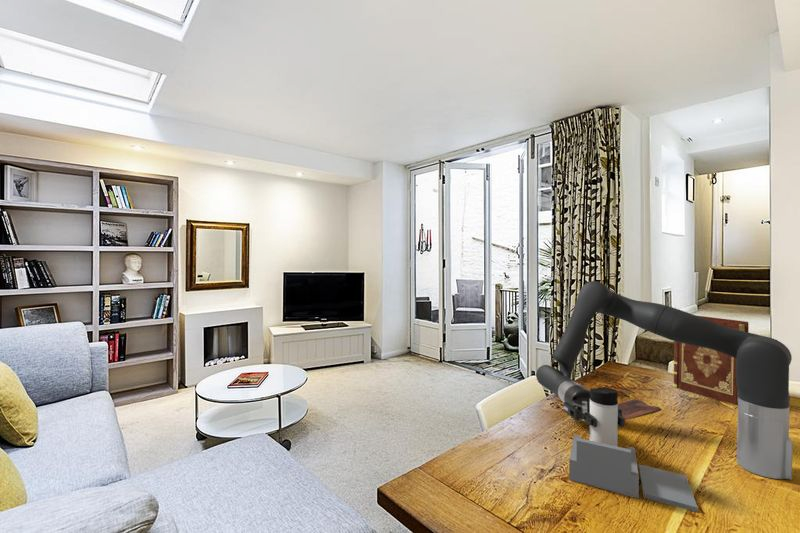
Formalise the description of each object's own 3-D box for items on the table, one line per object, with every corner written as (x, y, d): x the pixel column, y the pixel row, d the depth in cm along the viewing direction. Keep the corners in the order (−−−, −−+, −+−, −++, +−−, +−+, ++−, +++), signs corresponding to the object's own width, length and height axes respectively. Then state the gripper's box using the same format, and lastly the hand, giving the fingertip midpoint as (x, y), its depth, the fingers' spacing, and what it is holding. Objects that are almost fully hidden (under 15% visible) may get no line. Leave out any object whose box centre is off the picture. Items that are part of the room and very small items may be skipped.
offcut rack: (634, 467, 93) (634, 428, 93) (638, 498, 81) (639, 454, 80) (573, 452, 100) (574, 416, 99) (569, 479, 88) (569, 438, 87)
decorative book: (668, 385, 152) (669, 314, 151) (680, 383, 155) (681, 313, 154) (736, 405, 131) (738, 323, 131) (747, 401, 135) (749, 321, 134)
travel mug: (604, 474, 89) (604, 394, 88) (583, 460, 95) (584, 385, 95) (624, 470, 90) (625, 391, 90) (603, 456, 97) (603, 382, 96)
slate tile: (685, 479, 88) (685, 475, 88) (697, 512, 76) (697, 507, 76) (638, 468, 92) (639, 464, 92) (643, 497, 81) (643, 493, 81)
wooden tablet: (612, 421, 117) (586, 406, 126) (612, 427, 117) (585, 412, 126) (663, 407, 128) (635, 394, 137) (662, 413, 128) (634, 400, 137)
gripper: (552, 384, 107) (580, 408, 90) (600, 384, 107) (638, 408, 90) (551, 410, 107) (580, 438, 90) (600, 409, 107) (638, 437, 90)
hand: (609, 423), depth 90 cm, fingers closed on travel mug, 6 cm apart
